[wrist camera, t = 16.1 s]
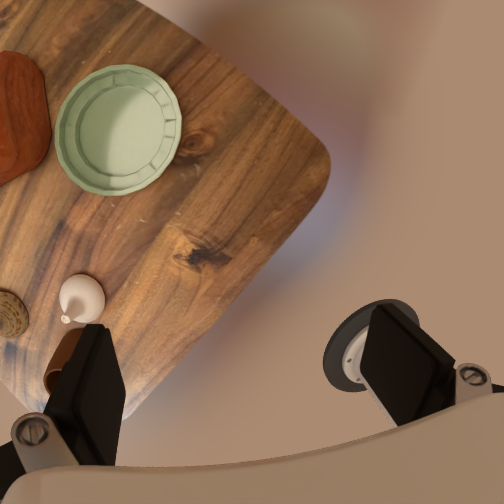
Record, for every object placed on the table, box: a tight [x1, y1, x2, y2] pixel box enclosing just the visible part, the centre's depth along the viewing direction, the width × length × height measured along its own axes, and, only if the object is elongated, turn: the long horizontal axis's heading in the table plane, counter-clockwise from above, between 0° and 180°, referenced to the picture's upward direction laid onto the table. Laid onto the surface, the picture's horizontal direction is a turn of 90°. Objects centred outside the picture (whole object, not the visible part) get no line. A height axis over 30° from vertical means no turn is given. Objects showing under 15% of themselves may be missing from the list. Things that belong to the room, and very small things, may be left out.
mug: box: [43, 329, 84, 395], centre depth 36 cm, size 12×8×9 cm, turn 153°
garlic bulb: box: [59, 274, 105, 324], centre depth 34 cm, size 6×6×8 cm
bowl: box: [55, 64, 183, 196], centre depth 30 cm, size 14×14×4 cm
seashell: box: [0, 292, 29, 338], centre depth 35 cm, size 8×6×8 cm
